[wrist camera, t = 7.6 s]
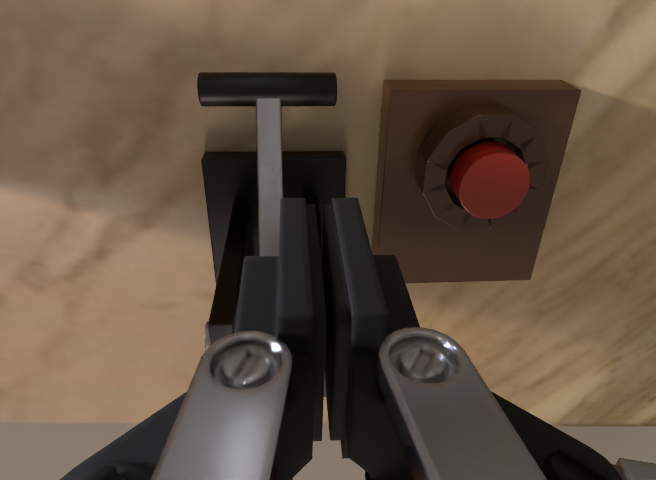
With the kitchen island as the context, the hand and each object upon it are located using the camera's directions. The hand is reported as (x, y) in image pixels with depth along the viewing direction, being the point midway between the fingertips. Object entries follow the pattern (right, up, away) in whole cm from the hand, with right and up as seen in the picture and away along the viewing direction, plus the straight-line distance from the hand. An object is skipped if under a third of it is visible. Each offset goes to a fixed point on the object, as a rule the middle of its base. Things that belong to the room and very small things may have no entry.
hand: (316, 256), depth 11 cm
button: (+8, +4, +15) cm, 18 cm away
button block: (+8, +4, +19) cm, 21 cm away
